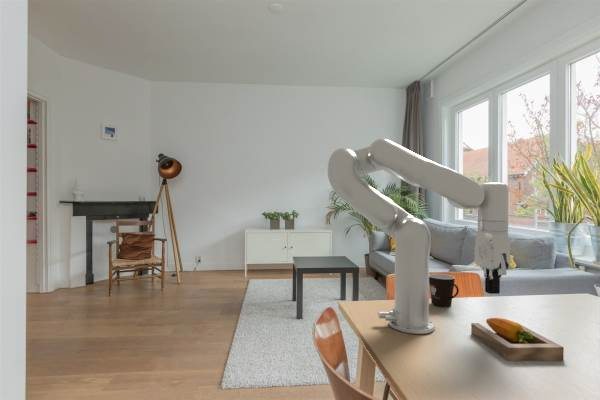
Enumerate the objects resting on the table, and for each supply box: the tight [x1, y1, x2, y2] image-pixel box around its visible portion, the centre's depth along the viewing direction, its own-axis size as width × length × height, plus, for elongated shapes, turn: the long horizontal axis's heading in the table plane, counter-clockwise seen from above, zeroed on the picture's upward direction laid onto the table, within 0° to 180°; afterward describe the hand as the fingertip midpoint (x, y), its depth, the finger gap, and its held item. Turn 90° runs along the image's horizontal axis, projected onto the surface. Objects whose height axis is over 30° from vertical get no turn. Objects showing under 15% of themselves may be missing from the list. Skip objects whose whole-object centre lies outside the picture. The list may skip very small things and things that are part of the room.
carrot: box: [485, 317, 533, 344], centre depth 92 cm, size 5×5×15 cm
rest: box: [470, 322, 565, 362], centre depth 87 cm, size 13×16×3 cm
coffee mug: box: [429, 273, 460, 308], centre depth 121 cm, size 12×9×10 cm
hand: (492, 292), depth 96 cm, fingers closed
